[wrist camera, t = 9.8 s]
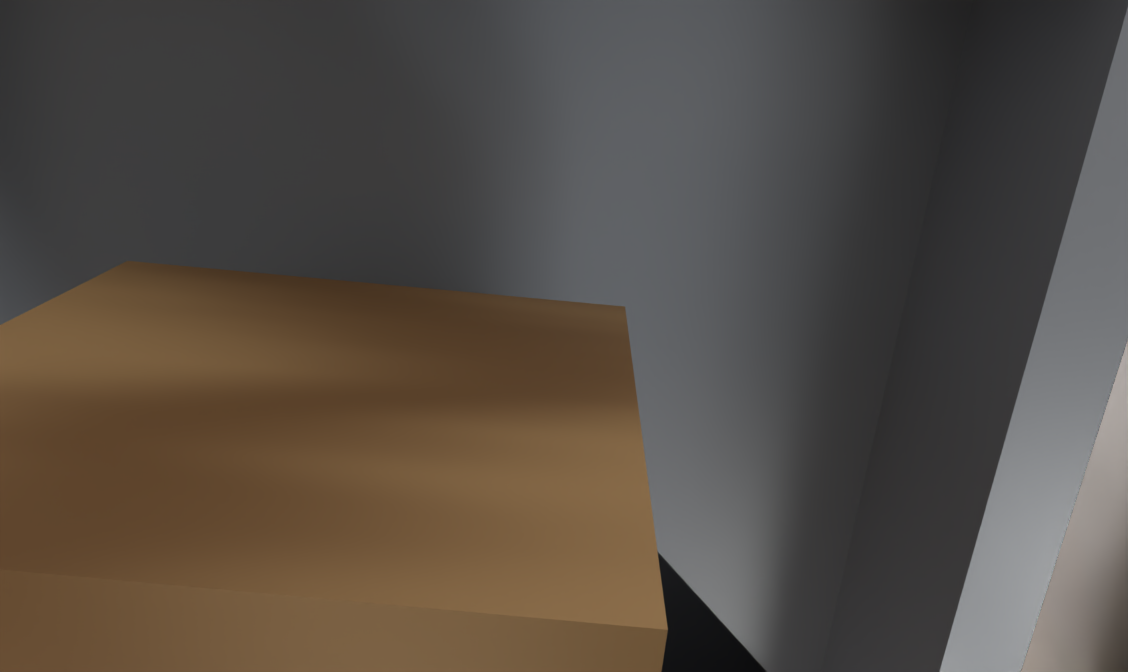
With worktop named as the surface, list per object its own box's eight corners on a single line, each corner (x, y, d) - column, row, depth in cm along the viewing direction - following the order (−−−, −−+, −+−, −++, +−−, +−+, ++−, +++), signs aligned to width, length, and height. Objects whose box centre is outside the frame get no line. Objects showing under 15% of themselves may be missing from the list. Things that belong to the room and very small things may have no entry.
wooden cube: (625, 307, 9) (669, 628, 4) (579, 704, 10) (571, 1262, 6) (128, 261, 9) (-411, 533, 4) (160, 667, 10) (-194, 1198, 6)
